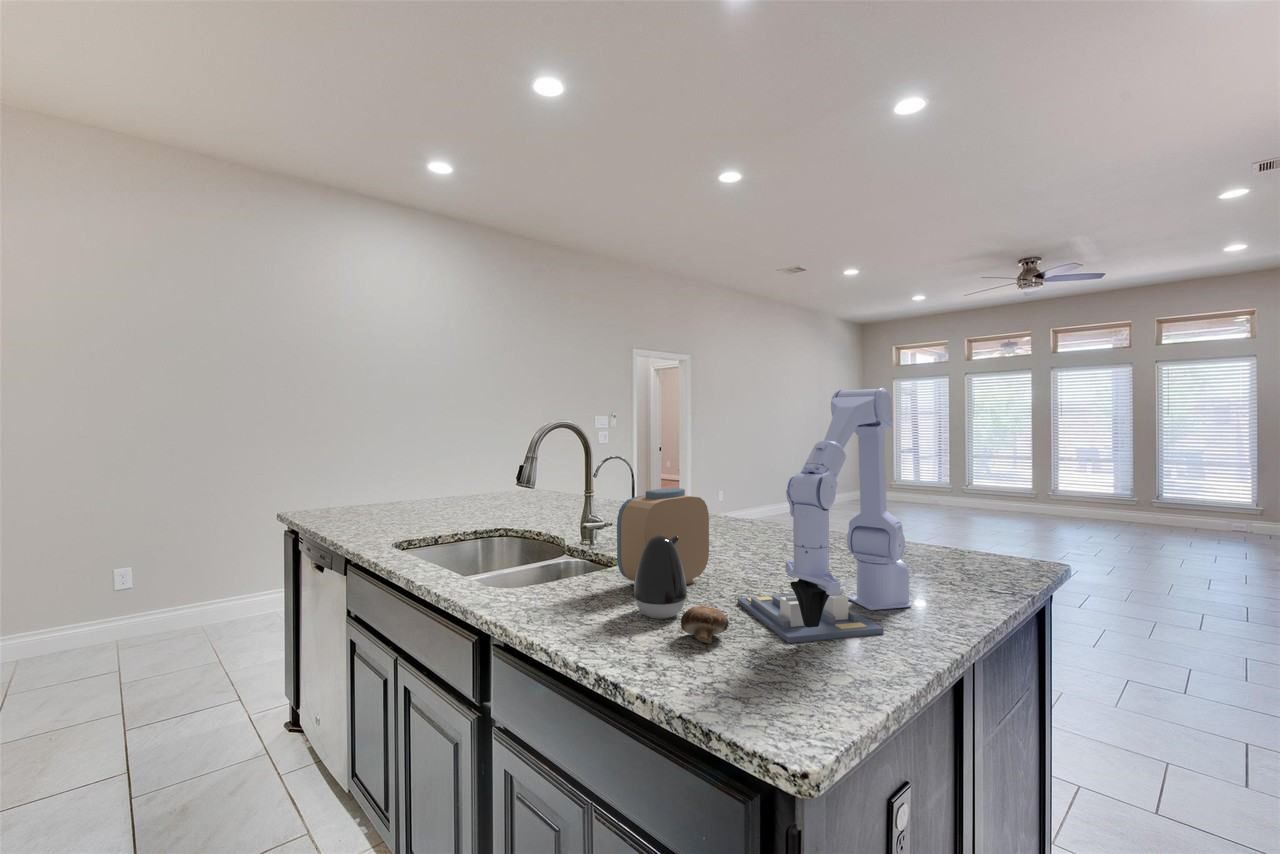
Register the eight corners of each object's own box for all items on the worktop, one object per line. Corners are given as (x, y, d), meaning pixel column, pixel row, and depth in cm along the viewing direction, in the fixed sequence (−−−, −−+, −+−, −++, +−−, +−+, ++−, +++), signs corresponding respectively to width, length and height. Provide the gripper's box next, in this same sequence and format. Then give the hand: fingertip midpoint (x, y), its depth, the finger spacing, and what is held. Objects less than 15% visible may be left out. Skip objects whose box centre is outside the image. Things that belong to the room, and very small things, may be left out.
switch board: (817, 596, 122) (817, 586, 122) (883, 633, 100) (883, 621, 100) (737, 603, 118) (737, 592, 118) (788, 643, 96) (788, 629, 96)
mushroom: (713, 634, 91) (709, 596, 95) (672, 644, 95) (670, 607, 99) (739, 646, 96) (734, 609, 100) (699, 655, 100) (696, 619, 104)
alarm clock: (679, 572, 142) (679, 484, 142) (709, 579, 135) (708, 487, 135) (615, 588, 128) (615, 491, 128) (645, 598, 121) (644, 495, 121)
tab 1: (795, 618, 105) (795, 592, 105) (806, 625, 101) (806, 599, 101) (780, 619, 105) (780, 594, 104) (790, 627, 101) (790, 600, 101)
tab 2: (836, 612, 108) (836, 587, 108) (848, 619, 104) (848, 593, 104) (821, 613, 108) (821, 588, 108) (833, 620, 104) (833, 595, 104)
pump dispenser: (698, 613, 111) (698, 535, 111) (663, 627, 104) (662, 543, 104) (658, 602, 118) (658, 528, 118) (622, 615, 111) (622, 536, 111)
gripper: (769, 537, 103) (770, 613, 103) (811, 556, 89) (811, 644, 89) (805, 535, 104) (806, 610, 104) (852, 553, 90) (852, 639, 90)
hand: (811, 625), depth 97 cm, fingers closed
